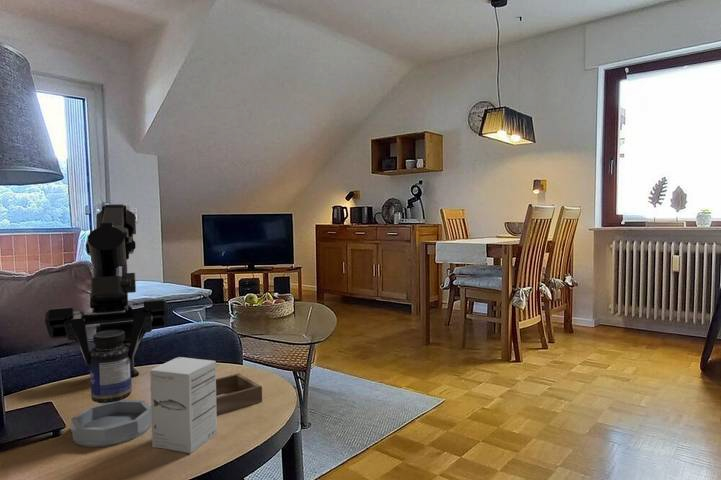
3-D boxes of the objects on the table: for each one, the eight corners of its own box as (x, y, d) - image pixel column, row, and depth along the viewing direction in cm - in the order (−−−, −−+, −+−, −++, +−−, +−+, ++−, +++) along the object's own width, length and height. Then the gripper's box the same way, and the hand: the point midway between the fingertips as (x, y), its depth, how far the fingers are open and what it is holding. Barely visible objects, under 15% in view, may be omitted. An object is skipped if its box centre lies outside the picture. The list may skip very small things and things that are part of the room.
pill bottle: (93, 393, 82) (90, 331, 82) (132, 387, 85) (129, 326, 84) (89, 407, 77) (86, 340, 76) (131, 400, 79) (129, 335, 79)
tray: (67, 428, 82) (66, 412, 82) (140, 409, 89) (139, 394, 89) (80, 454, 73) (79, 437, 73) (160, 431, 80) (159, 415, 80)
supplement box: (150, 448, 75) (147, 369, 74) (181, 427, 82) (179, 355, 81) (190, 455, 72) (187, 373, 72) (219, 433, 79) (216, 359, 79)
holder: (191, 399, 94) (191, 384, 94) (239, 387, 100) (238, 373, 100) (212, 416, 86) (212, 400, 86) (262, 401, 93) (261, 386, 92)
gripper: (43, 260, 79) (34, 343, 70) (165, 255, 87) (171, 329, 78) (53, 299, 87) (46, 378, 77) (164, 291, 94) (169, 362, 85)
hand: (109, 361), depth 79 cm, fingers closed on pill bottle, 6 cm apart
